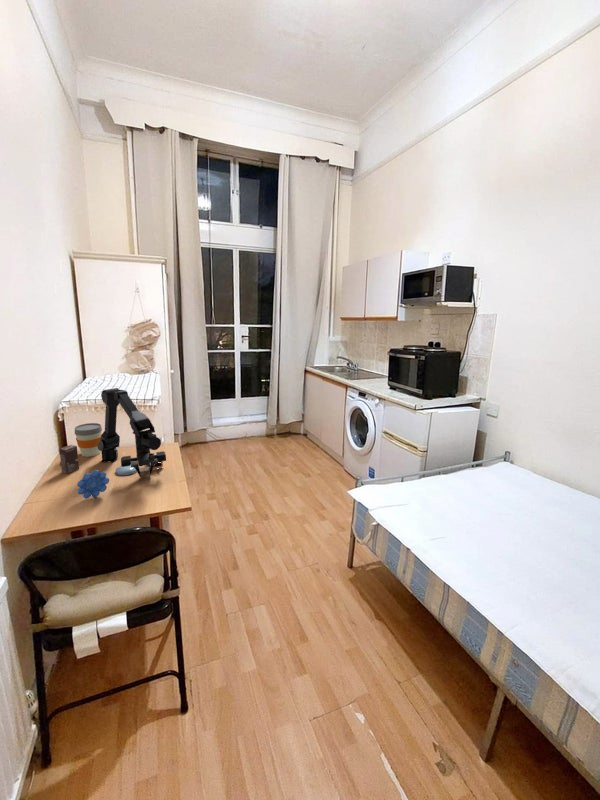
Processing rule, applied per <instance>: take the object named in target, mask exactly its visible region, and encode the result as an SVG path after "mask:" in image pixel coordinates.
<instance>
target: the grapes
mask: <svg viewBox="0 0 600 800" xmlns="http://www.w3.org/2000/svg"><path fill="white" fill-rule="evenodd" d="M109 483H110V478H109V477H107V472H106V471H101V472H100V470H98V469H94V470H92V471H91V473H90V472H86V473H85V474H84V475H83V476H82V479H80V480H78V482H77V487H78V489H77V494H78V495H80V496H81V495H83V496H82V497H83V498H84V499H89V498H90V497H92V498H97V497H99V496H100V493H104V492H105V491H107V485H108V484H109Z"/></svg>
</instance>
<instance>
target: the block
mask: <svg viewBox="0 0 600 800" xmlns="http://www.w3.org/2000/svg"><path fill="white" fill-rule="evenodd" d="M139 468H140V475H141V477H140V481H146V480H151V475H150V466H148V467H147V466H145V467H143V466H142V467H139Z"/></svg>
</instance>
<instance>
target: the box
mask: <svg viewBox="0 0 600 800" xmlns="http://www.w3.org/2000/svg"><path fill="white" fill-rule="evenodd" d="M58 450H59V456H60V465H61V472H62V473H63V474H64V473H65V474H70V473H72V472H73V473H74V471H77V470H79V469H80V464H79V463H80V462H79V454H78V445H74V444H69V445H66V446H62V447H60V448H59V449H58Z"/></svg>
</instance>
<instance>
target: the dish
mask: <svg viewBox="0 0 600 800" xmlns="http://www.w3.org/2000/svg"><path fill="white" fill-rule="evenodd" d="M136 473H138V472H137V470H136V469H135V468H134V467H131V465H130V466H126V467H121V465H119V466H118V467H117V468H116V469H115V474H116V475H118V476H130V475H133V474H136Z"/></svg>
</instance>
